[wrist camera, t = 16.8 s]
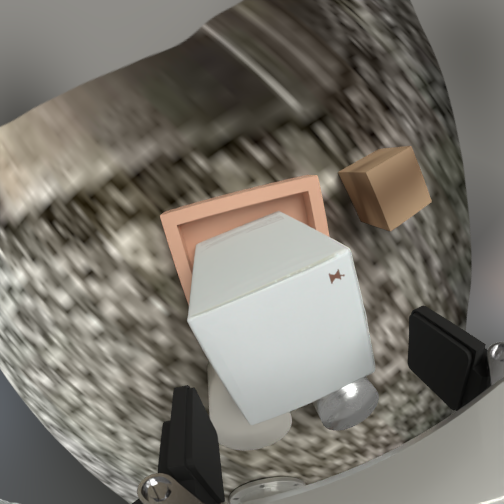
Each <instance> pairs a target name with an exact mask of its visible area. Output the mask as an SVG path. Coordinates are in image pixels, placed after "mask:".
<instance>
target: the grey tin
mask: <svg viewBox="0 0 504 504" xmlns="http://www.w3.org/2000/svg"><path fill="white" fill-rule="evenodd" d="M378 399H379V395H378V392H377V390H376V389H375V388H374V386H373V385H372V384H371V383H370V381H369V380H368V379H367V377H366V376H365V377H363V378H361V379H359V380H358V381H355V382H353V383H351V384H349V385H347V386H345V387H343V388H341V389H339V390H337V391H335V392H333V393H331V394H329V395H327V396H325V397H322V398H320V399H318V400H316V401H314V402H313V404H314V406H315V409H316V411H317V413H318V415H319V417H320V419H321V421H322V423H323V425H324V426H325V427H326V428H328V429H330V430H344V429H348V428H351V427H353V426H355V425H357V424H359V423H360V422H362V421H363V420H365V419H366V418H367V417H368V416H369V415H370V414H371V413H372V412H373V410H374V409H375V407H376V405H377V403H378Z"/></svg>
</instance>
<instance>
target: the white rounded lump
mask: <svg viewBox="0 0 504 504" xmlns="http://www.w3.org/2000/svg"><path fill="white" fill-rule="evenodd" d="M207 372H208V394H209V413H210V420H211V422H212V424H213V426H214V427H215V429H216V432H217V435H218V443H220V444H221V445H223V446H225V447H228V448H231V449H235V450H256V449H260V448H264V447H267V446H270V445H272V444H274V443H276V442H277V441H279V440H280V439H281V438H283V437H284V436H285V435H286V434H287V432H288V431H289V429H290V427H291V424H292V416H291V414H290V412H287V413H285V414H282V415H280V416H277V417H275V418H272V419H269V420H266V421H263V422H261V423H258V424H255V425H250V424H249V423H248V421H247V420H246V418H245V417H244V415H243V414H242V413H241V411H240V410H239V408H238V407H237V405H236V404H235V402H234V401H233V399H232V397H231V396H230V394H229V393H228V391H227V390H226V388H225V386H224V385H223V383H222V382H221V380H220V378H219V377H218V375H217V373H216V372H215V370H214V368H213V367H212V365H211V363H210V362H209V364H208V368H207Z"/></svg>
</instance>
